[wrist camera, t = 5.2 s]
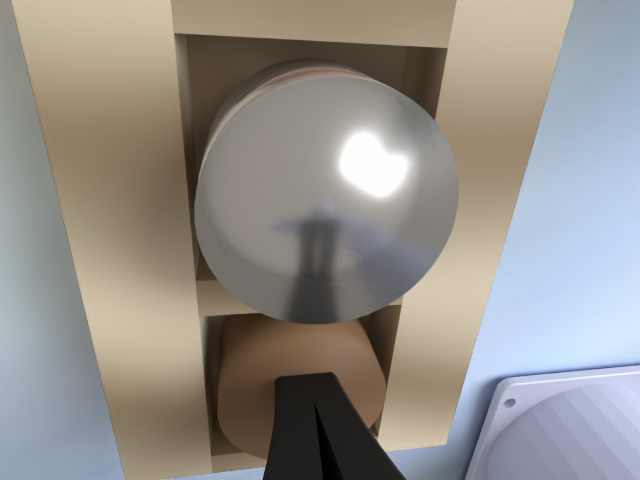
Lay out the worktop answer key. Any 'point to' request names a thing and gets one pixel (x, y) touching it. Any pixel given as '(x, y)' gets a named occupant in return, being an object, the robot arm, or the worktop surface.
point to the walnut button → (289, 371)
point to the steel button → (322, 193)
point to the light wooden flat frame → (184, 168)
